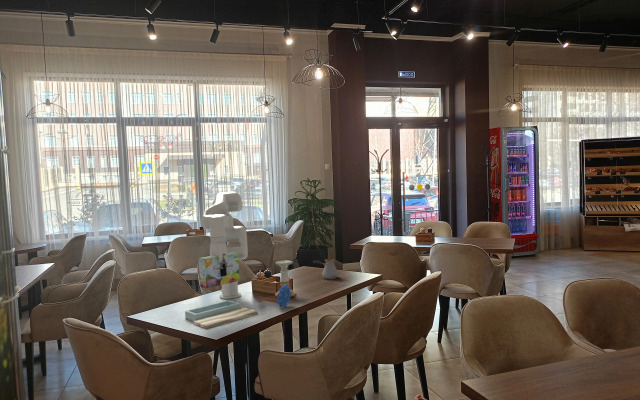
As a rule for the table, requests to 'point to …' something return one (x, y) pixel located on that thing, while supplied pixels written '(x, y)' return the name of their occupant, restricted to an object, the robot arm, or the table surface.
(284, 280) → the candle holder
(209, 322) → the board
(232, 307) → the bin
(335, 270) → the coffee pot
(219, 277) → the snack box
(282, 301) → the grapes
